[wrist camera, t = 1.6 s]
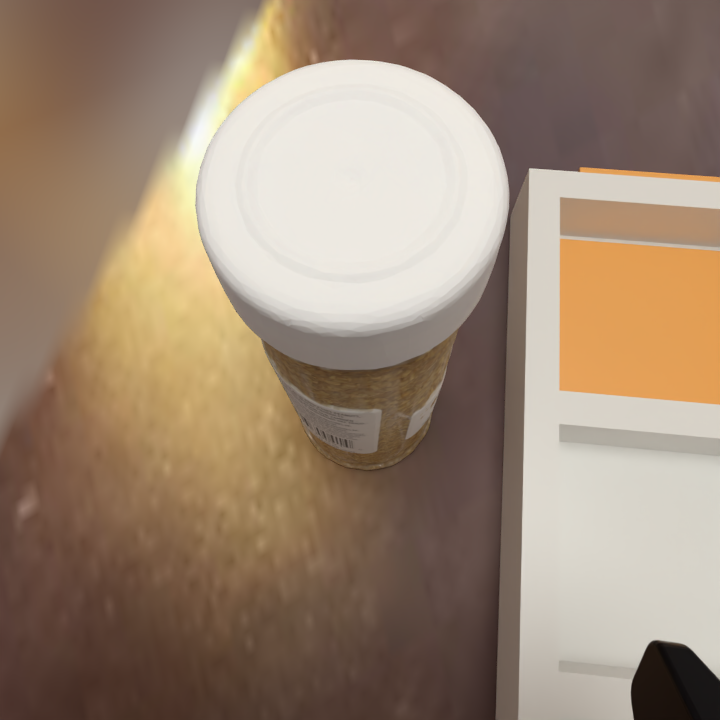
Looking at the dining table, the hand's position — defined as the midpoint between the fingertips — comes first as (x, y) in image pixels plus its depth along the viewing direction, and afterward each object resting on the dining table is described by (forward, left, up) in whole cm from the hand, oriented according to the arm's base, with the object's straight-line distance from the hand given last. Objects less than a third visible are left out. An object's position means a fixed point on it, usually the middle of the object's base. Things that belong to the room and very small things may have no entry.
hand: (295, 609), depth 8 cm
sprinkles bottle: (+6, 0, -12) cm, 14 cm away
